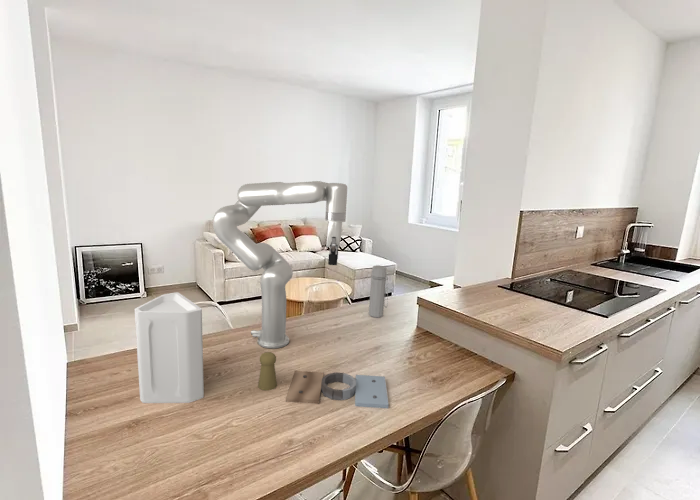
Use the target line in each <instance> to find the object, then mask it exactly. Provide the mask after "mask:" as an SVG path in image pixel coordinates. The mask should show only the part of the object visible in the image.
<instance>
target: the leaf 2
mask: <svg viewBox="0 0 700 500" xmlns="http://www.w3.org/2000/svg"><path fill="white" fill-rule="evenodd" d="M343 373H344V374H343V384H345V385H348V386H349V387H347V388H344V389H341V390H342V400H341V401H345V400H348V399H352V397H353V396H355V397H354V399H355V400H354V407H361V408H362V407H364V408H373V409H374V408H376V409H379V408H380V409H389V398H388V391H387V384H386V376H382V375H370V374H369V375H366V374H355V377H354V376H352V375H350V374H349V373H345V372H343Z"/></svg>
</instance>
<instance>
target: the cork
mask: <svg viewBox="0 0 700 500" xmlns="http://www.w3.org/2000/svg"><path fill="white" fill-rule="evenodd" d="M276 361H277V356H276V354H275V353H274V352H271V351H266V352H263V353H261V354H260V356H259V362H260V363H259V364H260V371H259V377H258V382H257V388H258V389H259V390H261V391H268V392H269V391H273V390H274V389H275V388H277V386H278V381H277V374H276V366H275V363H276Z"/></svg>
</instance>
